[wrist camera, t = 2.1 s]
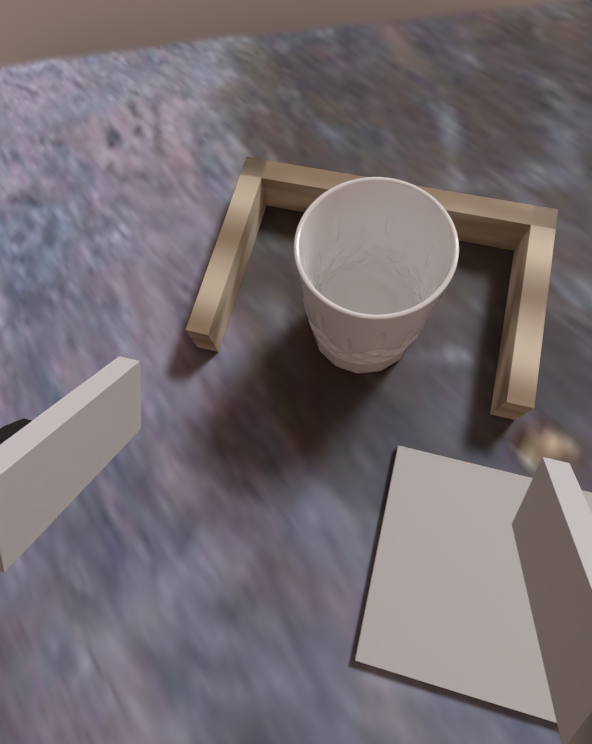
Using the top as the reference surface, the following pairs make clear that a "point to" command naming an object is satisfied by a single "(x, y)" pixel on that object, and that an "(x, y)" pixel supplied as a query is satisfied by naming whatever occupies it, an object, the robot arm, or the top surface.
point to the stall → (473, 224)
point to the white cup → (373, 268)
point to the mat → (454, 585)
